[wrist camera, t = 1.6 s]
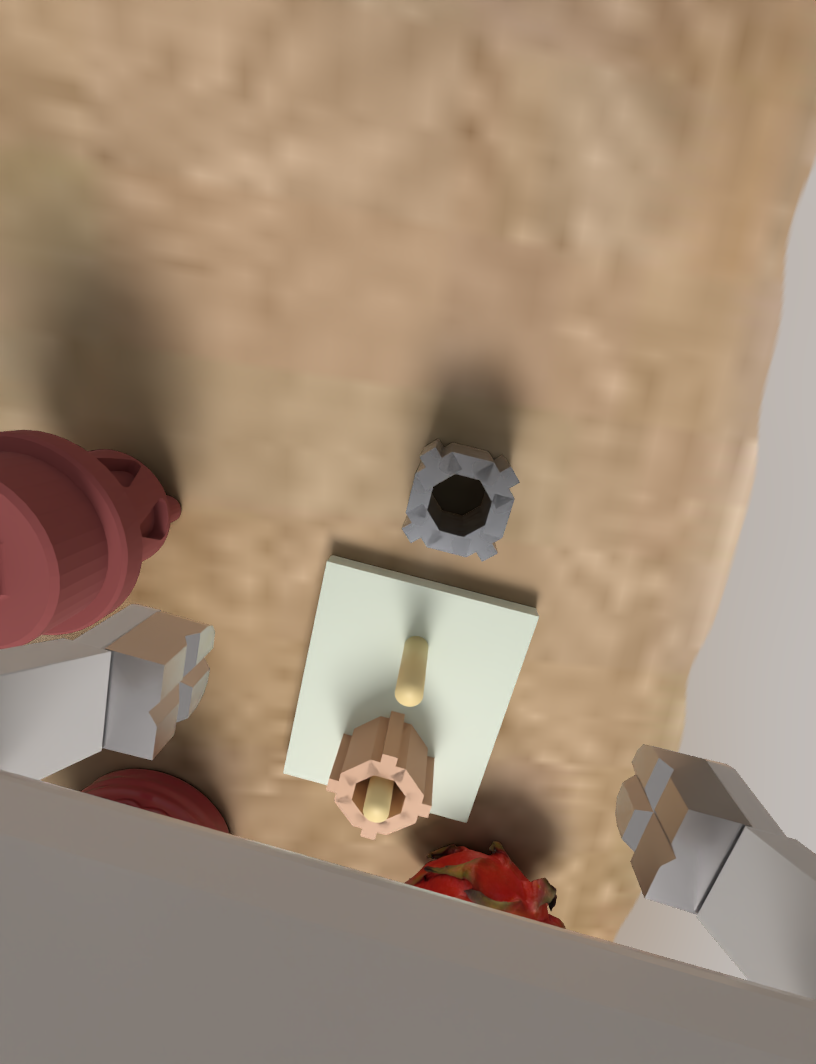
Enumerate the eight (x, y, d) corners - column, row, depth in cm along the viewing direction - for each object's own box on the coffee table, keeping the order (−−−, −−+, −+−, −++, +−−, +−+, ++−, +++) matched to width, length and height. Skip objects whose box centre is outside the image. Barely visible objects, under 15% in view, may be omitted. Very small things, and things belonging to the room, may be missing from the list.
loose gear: (427, 435, 29) (422, 444, 24) (513, 457, 28) (523, 469, 24) (407, 518, 30) (398, 540, 26) (488, 539, 30) (494, 564, 26)
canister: (207, 920, 41) (33, 1294, 24) (59, 857, 41) (-224, 1192, 24) (259, 807, 37) (96, 1155, 20) (97, 736, 37) (-208, 1031, 20)
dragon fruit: (563, 869, 38) (410, 827, 41) (586, 856, 32) (401, 806, 34) (555, 1020, 33) (381, 961, 36) (581, 1042, 26) (364, 968, 29)
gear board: (331, 554, 31) (302, 594, 25) (536, 608, 31) (554, 660, 25) (288, 760, 36) (255, 835, 30) (466, 808, 35) (468, 893, 30)
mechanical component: (49, 410, 30) (209, 432, 30) (60, 565, 33) (207, 587, 33) (-212, 424, 18) (46, 461, 18) (-158, 663, 21) (66, 701, 21)
